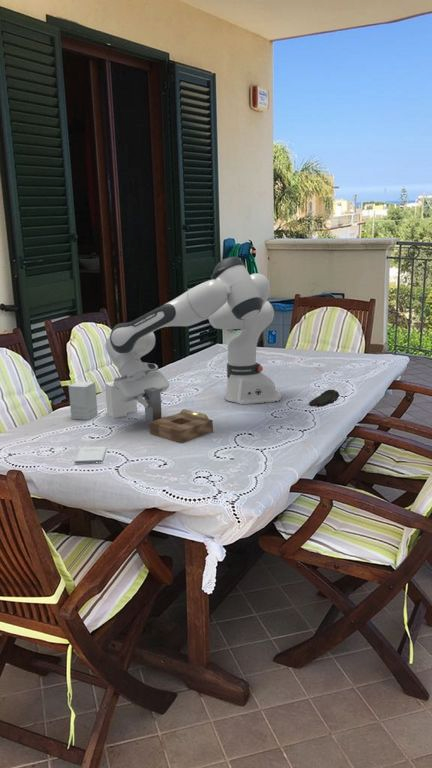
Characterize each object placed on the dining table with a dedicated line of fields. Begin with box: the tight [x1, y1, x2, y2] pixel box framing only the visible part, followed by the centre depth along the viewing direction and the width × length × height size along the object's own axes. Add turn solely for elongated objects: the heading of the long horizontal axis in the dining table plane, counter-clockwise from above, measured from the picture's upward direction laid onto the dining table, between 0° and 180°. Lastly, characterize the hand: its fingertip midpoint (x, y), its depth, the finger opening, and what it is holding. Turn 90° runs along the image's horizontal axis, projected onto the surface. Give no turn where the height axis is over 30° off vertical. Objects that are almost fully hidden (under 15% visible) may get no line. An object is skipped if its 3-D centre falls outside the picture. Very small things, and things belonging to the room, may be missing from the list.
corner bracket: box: [104, 381, 138, 419], centre depth 246 cm, size 11×11×12 cm
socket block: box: [149, 411, 214, 444], centre depth 221 cm, size 15×15×4 cm
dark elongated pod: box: [308, 389, 340, 408], centre depth 256 cm, size 22×7×3 cm, turn 149°
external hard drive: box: [74, 445, 108, 464], centre depth 201 cm, size 2×8×12 cm
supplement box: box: [68, 381, 99, 421], centre depth 241 cm, size 7×7×13 cm
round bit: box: [179, 408, 209, 419], centre depth 232 cm, size 10×4×4 cm, turn 47°
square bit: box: [143, 387, 163, 425], centre depth 228 cm, size 4×4×12 cm
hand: (154, 405), depth 227 cm, fingers closed on square bit, 4 cm apart
